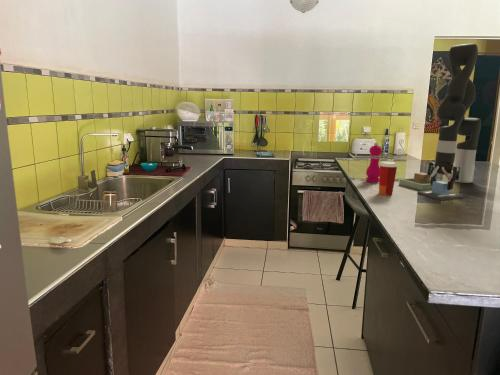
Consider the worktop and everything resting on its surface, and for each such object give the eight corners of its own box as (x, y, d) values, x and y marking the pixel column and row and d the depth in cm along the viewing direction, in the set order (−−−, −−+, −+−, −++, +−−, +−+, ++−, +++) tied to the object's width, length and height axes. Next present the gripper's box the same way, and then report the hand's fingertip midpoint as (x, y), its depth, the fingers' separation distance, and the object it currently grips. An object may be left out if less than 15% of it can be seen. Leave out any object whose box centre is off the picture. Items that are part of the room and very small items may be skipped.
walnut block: (420, 184, 192) (422, 172, 191) (428, 186, 188) (430, 174, 186) (413, 185, 190) (414, 173, 189) (421, 187, 186) (422, 174, 184)
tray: (419, 183, 198) (420, 177, 197) (443, 189, 186) (443, 183, 185) (398, 184, 192) (399, 179, 192) (421, 191, 180) (422, 184, 179)
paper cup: (394, 192, 175) (397, 162, 172) (394, 196, 168) (398, 164, 165) (376, 191, 177) (379, 160, 174) (375, 194, 170) (379, 163, 167)
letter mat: (437, 191, 180) (438, 189, 180) (463, 198, 169) (463, 195, 168) (417, 193, 175) (417, 191, 175) (441, 200, 163) (442, 198, 163)
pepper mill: (380, 183, 195) (384, 143, 191) (365, 182, 197) (369, 142, 192) (379, 180, 202) (383, 142, 198) (364, 179, 204) (368, 141, 199)
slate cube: (439, 191, 175) (440, 181, 174) (449, 194, 170) (450, 183, 169) (431, 192, 173) (432, 181, 172) (441, 195, 168) (442, 183, 167)
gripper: (466, 152, 163) (461, 190, 166) (438, 148, 175) (433, 184, 179) (454, 153, 160) (448, 191, 163) (426, 149, 172) (421, 185, 176)
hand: (440, 187), depth 171 cm, fingers open, 8 cm apart
